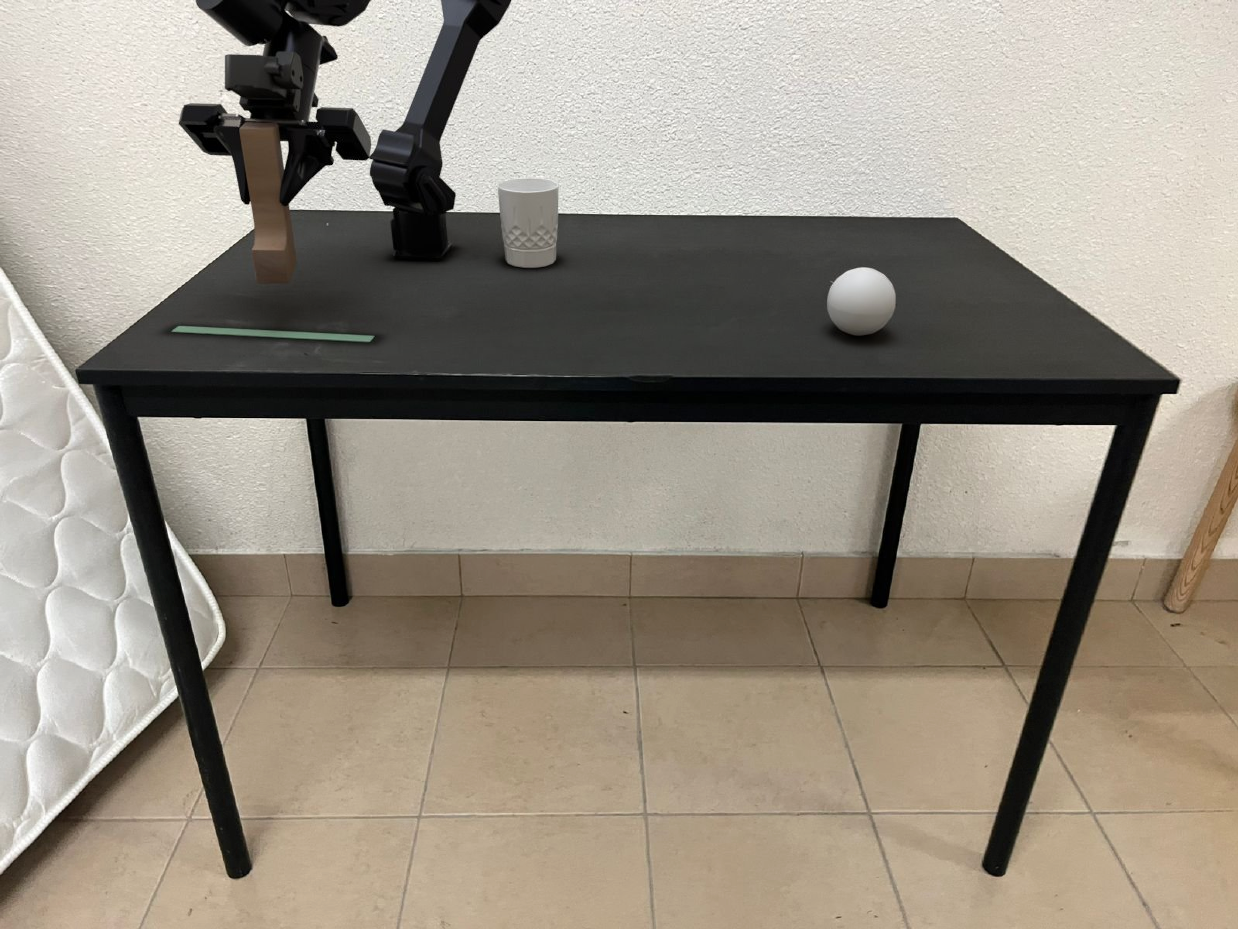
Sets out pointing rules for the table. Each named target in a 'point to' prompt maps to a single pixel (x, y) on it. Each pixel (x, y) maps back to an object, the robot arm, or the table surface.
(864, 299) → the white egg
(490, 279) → the table surface
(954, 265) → the table surface
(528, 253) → the white cup
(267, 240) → the wooden block
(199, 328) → the tape strip
